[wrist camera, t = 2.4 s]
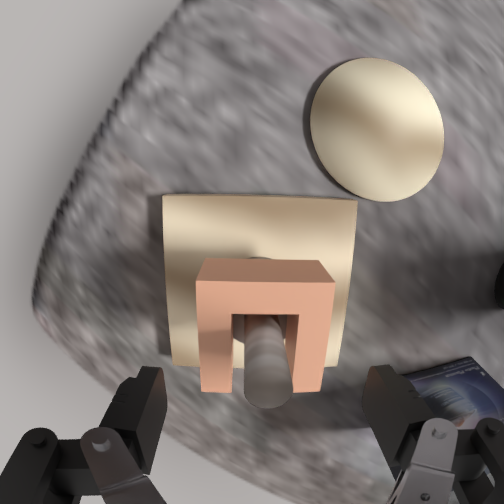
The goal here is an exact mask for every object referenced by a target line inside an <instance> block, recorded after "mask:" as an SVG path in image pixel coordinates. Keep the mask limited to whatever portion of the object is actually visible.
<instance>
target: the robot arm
mask: <svg viewBox="0 0 504 504" xmlns="http://www.w3.org/2000/svg"><path fill="white" fill-rule="evenodd" d="M362 407H363V411H364V413H365V415H366V417H367V419H368V422H369V424H370V426H371V428H372V430H373V432H374V435H375V437H376V439H377V441H378V444H379V446H380V448H381V450H382V452H383V455H384V457H385V459H386V461H387V464H388V466H389V467H394V466H398V465H400V466H401V468H402V470H401V472H400V473H399V476H398V478H397V480H396V483H395V485H394V487H393V490H392V492H391V494H390V496H389V498H388V501H387V503H386V504H448V501H449V497H450V494H451V490H452V488H453V490H454V492H455V494H456V496H457V499H458V501H459V503H460V504H504V424H503V423H502V422H501V421H500V420H498V419H495V418H483V419H481V420H480V421H479V422H478V423H477V425H476V427H475V429H457V428H456V426H455V425H454V424H453V423H452V422H450V421H448V420H446V419H442V418H436V417H435V415H434V414H433V412H432V411H431V409H430V408H429V407H428V405H427V404H426V402H425V401H424V400H423V398H422V397H421V395H420V394H419V393H418V391H416V388H415V387H414V386H413V384H412V383H411V381H409V380H408V379H406V378H405V377H403V376H402V375H397V374H396V373H395V371H394V370H393V368H392V367H391V366H390V365H380V366H372V367H370V369H369V372H368V376H367V381H366V385H365V389H364V392H363V396H362ZM166 412H167V395H166V388H165V381H164V374H163V370H162V368H160V367H148V366H142V367H141V369H140V371H139V373H138V376H137V378H132V377H129V378H127V379H126V380H125V381H124V382H122V383H121V384H120V386H119V387H118V389H117V391H116V395H114V397H113V399H112V402H111V403H110V405H109V407H108V409H107V411H106V413H105V415H104V417H103V419H102V421H101V423H100V425H99V427H97V428H93V429H90V430H88V431H87V432H85V433H84V435H83V436H82V437H81V439H76V440H75V439H72V440H71V439H69V440H58V438H57V436H56V435H55V433H54V432H53V431H51V430H49V429H47V428H34V429H31V430H29V431H28V432H26V433H25V434H24V435H23V437H22V438H21V440H20V442H19V443H18V445H17V447H16V449H15V450H14V452H13V454H12V456H11V458H10V459H9V461H8V463H7V464H6V466H5V468H4V470H3V472H2V474H1V475H0V504H79V503H80V500H81V497H82V496H83V495H84V496H89V495H101V496H102V498H103V500H104V502H105V503H106V504H167V503H166V502H165V500H164V499H163V498H162V496H161V495H160V493H159V492H158V491H157V489H156V488H155V486H154V485H153V483H152V482H151V480H150V479H149V478H148V477H147V476H144V475H143V474H147V475H150V471H151V467H152V464H153V460H154V456H155V452H156V449H157V445H158V441H159V438H160V434H161V431H162V427H163V423H164V420H165V416H166ZM486 467H487V468H488V469H489V471H490V473H491V474H492V476H493V478H494V480H495V487H493V485H492V484H491V482H490V480H489V478H488V477H487V475H486V473H485V471H484V470H485V468H486Z"/></svg>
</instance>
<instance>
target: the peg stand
mask: <svg viewBox="0 0 504 504" xmlns="http://www.w3.org/2000/svg"><path fill="white" fill-rule="evenodd" d="M162 198H163V240H164V263H165V281H166V296H167V309H168V321H169V332H170V343H171V352H172V361H173V365H180V366H196V367H200V362H199V346H198V327H197V305H196V279H197V276H198V274H199V271H200V269H201V267H202V264H203V262H204V260H205V258H229V259H282V260H319V261H320V262H321V264H322V265H323V266H324V268H325V269H326V270H327V272H328V273H329V274H330V276H331V277H332V278H333V280H334V281H335V282H336V284H335V293H334V301H333V309H332V317H331V324H330V331H329V338H328V345H327V352H326V358H325V364H324V367H331V366H337V363H338V357H339V351H340V346H341V340H342V334H343V327H344V321H345V314H346V307H347V300H348V293H349V285H350V277H351V268H352V259H353V250H354V239H355V228H356V216H357V202H358V201H356V200H353V199H344V198H326V197H306V196H281V195H246V194H166V195H163V196H162ZM286 326H287V314H233V368H244V394H245V397H246V399H247V400H248V401H249V402H250V403H251V404H252V405H254V406H256V407H259V408H266V409H268V408H275V407H279V406H281V405H283V404H285V403H286V402H287V401H288V400H289V399H290V398H291V396H292V394H293V383H292V378H291V373H290V369H289V364H288V359H287V354H286V350H285V338H286Z"/></svg>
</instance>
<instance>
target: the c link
mask: <svg viewBox="0 0 504 504" xmlns="http://www.w3.org/2000/svg"><path fill="white" fill-rule="evenodd" d="M335 284H336V282H335V281H334V280H333V278H332V277H331V276H330V274H329V273H328V272H327V270H326V269H325V268H324V266H323V265H322V264H321V262H320V261H319V260H282V259H229V258H205V260H204V262H203V264H202V267H201V269H200V271H199V274H198V276H197V279H196V305H197V327H198V346H199V362H200V377H201V390H202V392H222V393H231V390H232V372H233V314H287V326H286V338H285V350H286V354H287V359H288V364H289V369H290V373H291V378H292V383H293V393H296V392H318V391H320V388H321V382H322V376H323V370H324V364H325V358H326V352H327V345H328V338H329V331H330V324H331V317H332V309H333V301H334V293H335Z"/></svg>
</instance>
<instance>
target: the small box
mask: <svg viewBox="0 0 504 504" xmlns="http://www.w3.org/2000/svg"><path fill="white" fill-rule="evenodd" d="M403 377H405V378H406V379H408V380H409V381H411V383H412V384H413V386H414V387H415V388H416V391H418V393H419V394H420V395H421V397H422V398H423V400H424V401H425V402H426V404H427V405H428V407H429V408H430V409H431V411H432V412H433V414H434V415H435V417H436V418H442V419H446V420H448V421H450V422H452V423H453V424H454V425H455V426H456V428H457V429H475V427H476V425H477V423H478V422H479V421H480V420H481V419H483V418H495V419H498V420H500V421H501V422H502V423H503V424H504V389H503V388H502V387H501V386H500V385H499V384H498V383H497V382H496V381H495V380H494V379H493V378H492V377H491V376H490V375H489V374H488V373H487V372H486V371H485V370H484V369H483V368H482V367H481V366H480V365H479V364H478V363H477V362H476V361H475V360H474V359H473V358H472V357H469V358H466V359H462V360H459V361H456V362H453V363H449V364H446V365H443V366H439V367H435V368H432V369H428V370H424V371H421V372H417V373H413V374H408V375H404V376H403ZM390 470H391V472H392V474H393V477H394V479H395V481H396V480H397V478H398V476H399V473H400V472H401V470H402V468H401V466H400V465H398V466H394V467H390ZM484 471H485V473H486V475H487V474H489V473H490V471H489V469H488V468H487V467H486V468H485V470H484ZM451 491H453V488H452V490H451Z"/></svg>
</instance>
